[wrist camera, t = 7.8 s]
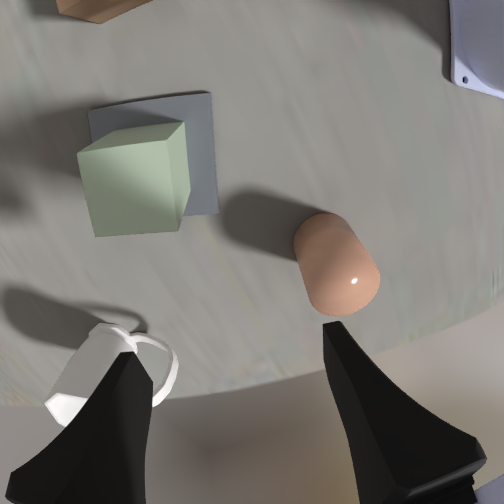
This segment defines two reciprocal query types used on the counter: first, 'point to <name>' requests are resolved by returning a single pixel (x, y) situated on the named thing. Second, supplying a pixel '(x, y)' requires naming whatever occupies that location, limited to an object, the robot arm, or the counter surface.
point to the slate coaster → (196, 131)
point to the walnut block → (97, 8)
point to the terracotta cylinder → (334, 265)
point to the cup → (100, 369)
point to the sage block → (136, 180)
